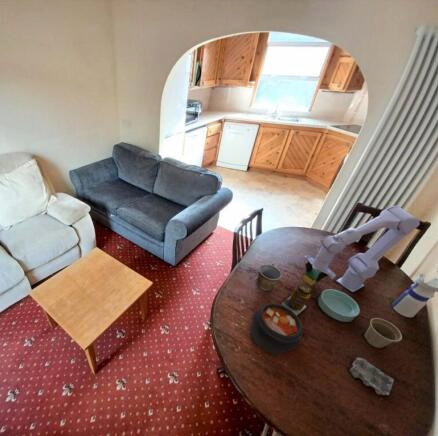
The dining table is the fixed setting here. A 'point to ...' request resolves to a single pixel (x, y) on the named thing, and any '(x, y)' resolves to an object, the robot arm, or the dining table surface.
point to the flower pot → (382, 333)
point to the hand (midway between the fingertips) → (312, 278)
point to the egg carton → (372, 376)
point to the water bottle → (415, 296)
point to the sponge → (311, 276)
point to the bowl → (338, 305)
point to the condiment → (298, 299)
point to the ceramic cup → (268, 276)
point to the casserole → (276, 328)
